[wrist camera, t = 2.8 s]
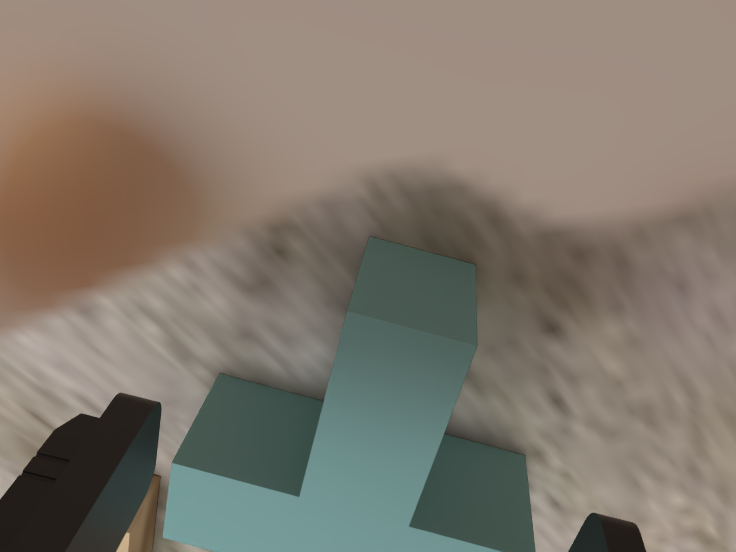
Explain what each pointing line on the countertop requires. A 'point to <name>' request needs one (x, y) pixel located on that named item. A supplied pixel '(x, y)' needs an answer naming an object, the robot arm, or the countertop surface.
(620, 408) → the countertop surface
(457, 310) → the t block
